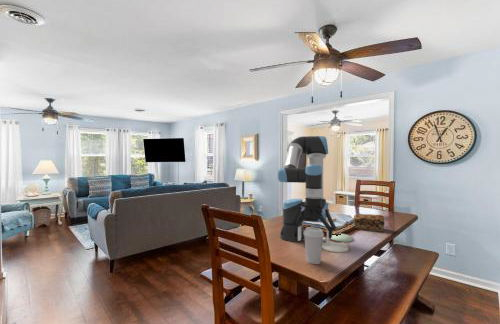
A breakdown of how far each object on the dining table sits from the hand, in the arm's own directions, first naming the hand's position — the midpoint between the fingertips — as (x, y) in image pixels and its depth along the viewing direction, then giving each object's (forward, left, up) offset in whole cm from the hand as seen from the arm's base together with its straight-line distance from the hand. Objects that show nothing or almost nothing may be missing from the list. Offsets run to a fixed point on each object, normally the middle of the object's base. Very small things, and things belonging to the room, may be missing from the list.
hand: (313, 242), depth 117 cm
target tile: (-4, +33, -9) cm, 35 cm away
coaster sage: (+5, +41, -9) cm, 43 cm away
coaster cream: (+5, +23, -9) cm, 26 cm away
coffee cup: (0, 0, -9) cm, 9 cm away
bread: (+18, +72, -9) cm, 74 cm away
